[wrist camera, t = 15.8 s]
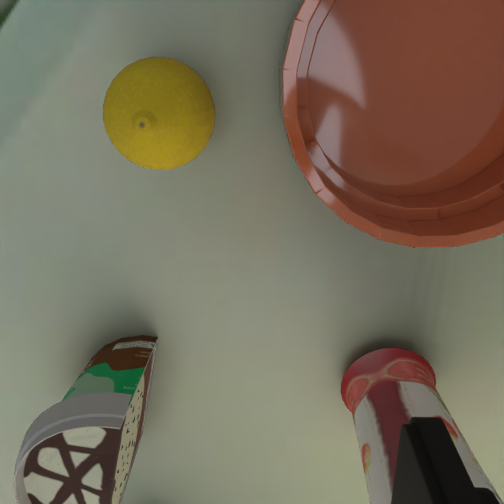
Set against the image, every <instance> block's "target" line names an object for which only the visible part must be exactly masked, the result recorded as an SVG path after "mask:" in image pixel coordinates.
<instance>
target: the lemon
mask: <svg viewBox="0 0 504 504" xmlns="http://www.w3.org/2000/svg"><path fill="white" fill-rule="evenodd" d="M103 120H104V124H105V128H106V132H107V134H108V136H109V138H110V140H111V142H112V144H113V145H114V146H115V147H116V149H117V150H118V151H119V152H120V153H121V154H122V155H123V156H124V157H126V158H127V159H128V160H130V161H131V162H133V163H135V164H137V165H140V166H142V167H145V168H150V169H155V170H163V169H173V168H176V167H179V166H182V165H185V164H186V163H188V162H189V161H191V160H192V159H194V158H195V157H197V156H198V155H199V153H200V152H201V151H202V150H203V149H204V148H205V147H206V145H207V143H208V141H209V139H210V137H211V135H212V132H213V127H214V122H215V109H214V103H213V100H212V96H211V93H210V91H209V89H208V88H207V86H206V84H205V82H204V81H203V80H202V79H201V77H200V76H199V75H198V74H197V73H196V72H195V71H194V70H192V69H191V68H189V67H188V66H186V65H185V64H183V63H182V62H179V61H176V60H173V59H170V58H162V57H151V58H146V59H141V60H138V61H136V62H134V63H132V64H130V65H128V66H127V67H125V68H124V69H123V70H122V71H121V72H120V73H119V74H118V75H117V76H116V77H115V78H114V79H113V81H112V83H111V85H110V86H109V88H108V90H107V92H106V96H105V100H104V104H103Z"/></svg>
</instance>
